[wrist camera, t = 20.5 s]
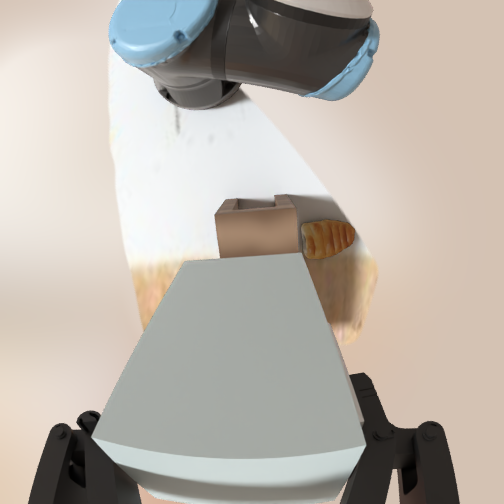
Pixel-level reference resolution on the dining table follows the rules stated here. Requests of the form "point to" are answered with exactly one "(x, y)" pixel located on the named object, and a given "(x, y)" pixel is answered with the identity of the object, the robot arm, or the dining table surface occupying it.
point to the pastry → (326, 238)
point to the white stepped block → (235, 391)
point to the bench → (257, 229)
